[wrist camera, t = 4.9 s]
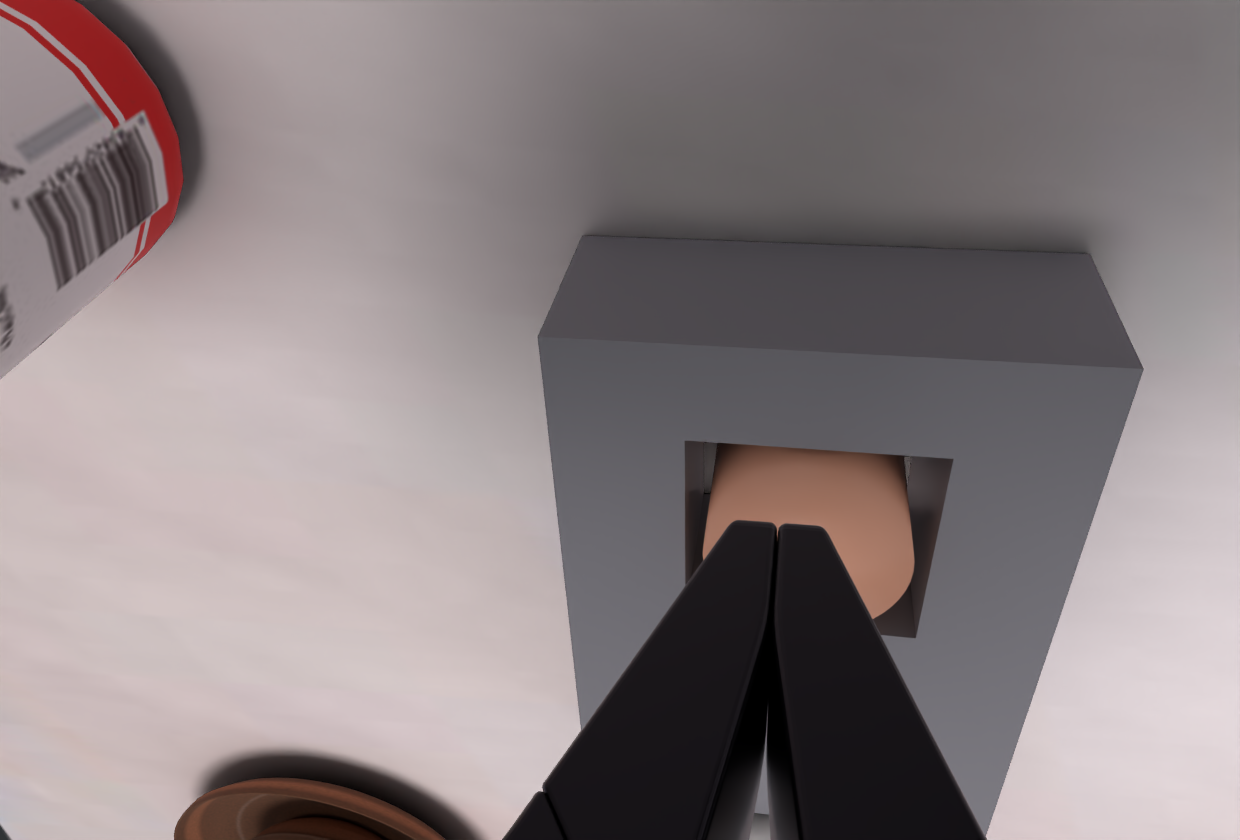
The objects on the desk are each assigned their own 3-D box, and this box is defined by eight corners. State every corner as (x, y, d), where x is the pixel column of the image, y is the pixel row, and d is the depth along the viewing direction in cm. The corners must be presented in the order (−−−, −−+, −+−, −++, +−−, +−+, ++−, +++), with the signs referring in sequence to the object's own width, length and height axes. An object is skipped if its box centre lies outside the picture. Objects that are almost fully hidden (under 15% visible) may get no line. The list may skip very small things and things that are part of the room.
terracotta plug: (915, 379, 20) (929, 491, 17) (890, 523, 22) (900, 641, 20) (719, 369, 21) (703, 474, 18) (716, 509, 23) (702, 621, 20)
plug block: (1089, 253, 19) (1143, 368, 16) (928, 841, 31) (940, 970, 28) (582, 235, 20) (537, 336, 17) (623, 801, 33) (602, 919, 30)
